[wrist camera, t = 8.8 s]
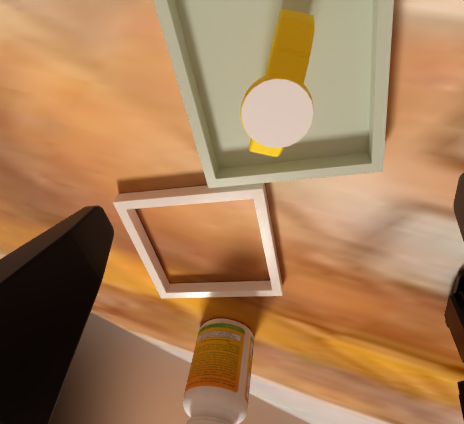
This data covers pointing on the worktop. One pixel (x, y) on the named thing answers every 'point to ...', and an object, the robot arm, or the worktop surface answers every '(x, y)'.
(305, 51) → the watch
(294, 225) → the worktop surface
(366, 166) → the tray
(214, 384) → the supplement bottle
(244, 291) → the white square frame
